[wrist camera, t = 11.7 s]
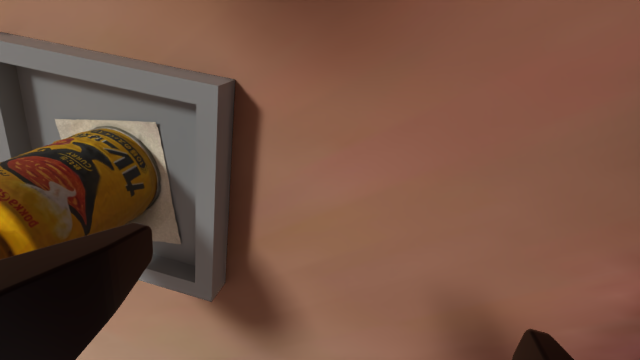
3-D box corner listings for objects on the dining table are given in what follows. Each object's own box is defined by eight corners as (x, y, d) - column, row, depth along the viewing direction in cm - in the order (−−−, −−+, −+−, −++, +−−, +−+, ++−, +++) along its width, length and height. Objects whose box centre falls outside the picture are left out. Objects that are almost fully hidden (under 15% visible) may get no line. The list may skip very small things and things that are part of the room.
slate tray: (235, 79, 21) (218, 85, 20) (225, 282, 28) (211, 301, 26) (1, 32, 24) (-33, 34, 22) (40, 229, 30) (16, 243, 28)
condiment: (157, 121, 23) (-70, 217, 12) (182, 242, 26) (19, 401, 16) (57, 117, 25) (-220, 200, 14) (92, 232, 28) (-110, 370, 17)
